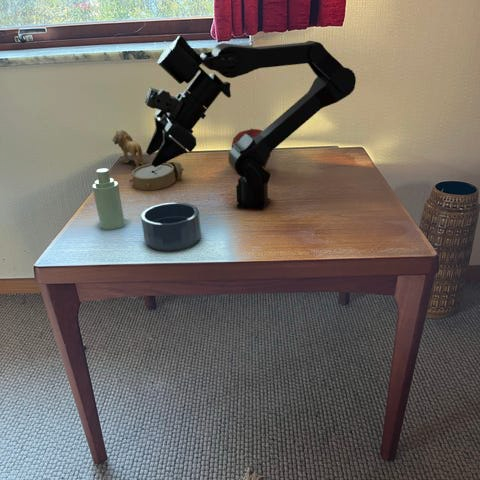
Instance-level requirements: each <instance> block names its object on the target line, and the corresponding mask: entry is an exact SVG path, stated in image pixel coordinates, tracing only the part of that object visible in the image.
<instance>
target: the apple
mask: <svg viewBox="0 0 480 480" xmlns="http://www.w3.org/2000/svg"><path fill="white" fill-rule="evenodd" d="M262 131H263V129H258V128H256V129H255V128H252V127H251V128H250V129H245V130H242V131H240V132H238V133H237V134H236V135H235V136H234V137H233V139H232V142H231V149H232V148H233V147H234V146H233V145H232V144H234V143H236V142H238V141H239V140H240V139H241V138H242V136H243V135H245V134H246V133H247V134H248V135H249V136H250V137H254V136H257V135H258V134H260V133H261V132H262ZM270 157H271V154H270V155H269V157H268V159H267V161H266V163H265V164H264V165H263V166H262V167H263V168H264V169H265V168H266V166H267V164H268V162H269V159H270Z"/></svg>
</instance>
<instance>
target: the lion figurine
mask: <svg viewBox="0 0 480 480" xmlns="http://www.w3.org/2000/svg"><path fill="white" fill-rule="evenodd" d="M111 141H112V142H113V144H114V145H117V146H118V147H119V148H120V149H121V151H122V153H123V156H124V158H125V159H124V161H123V163H124V164H128V163H130V160H131V161H132V162H134V163H135V165H136V166H135V169H136V168H138V167H140V166H143V165H146V164H147V163H145V162H144V157H143V149H142V146H141V145H140V143H139V142H137V141H134V140H133V137H132V136H131V135H130V134H129V133H128V132H127V131H125V130H123V129H118V130H115V134H114V136H113V137H112V138H111ZM128 153H129V154H130V156H131V157H130V158H131V159H129V156H128ZM137 157H138V159H139V160H138V159H137ZM139 161H140V162H139ZM139 163H140V164H139Z"/></svg>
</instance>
